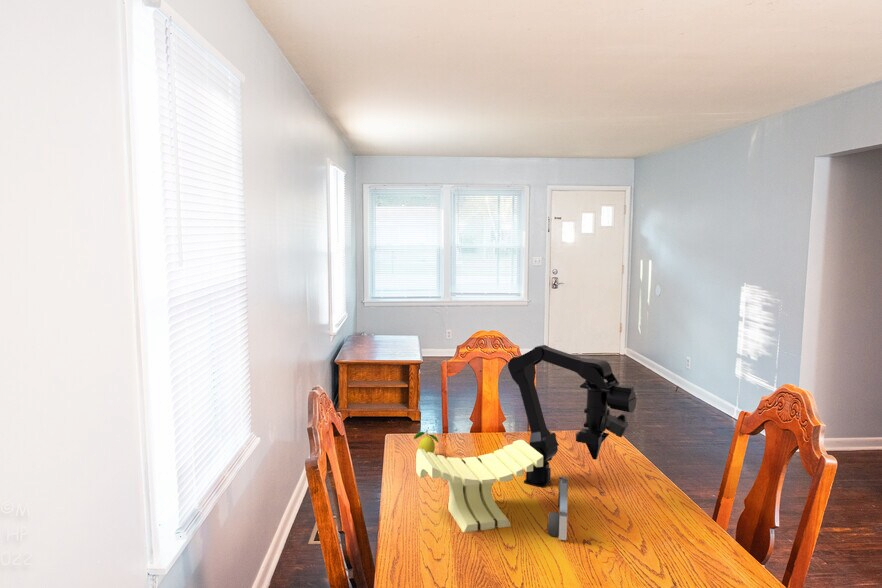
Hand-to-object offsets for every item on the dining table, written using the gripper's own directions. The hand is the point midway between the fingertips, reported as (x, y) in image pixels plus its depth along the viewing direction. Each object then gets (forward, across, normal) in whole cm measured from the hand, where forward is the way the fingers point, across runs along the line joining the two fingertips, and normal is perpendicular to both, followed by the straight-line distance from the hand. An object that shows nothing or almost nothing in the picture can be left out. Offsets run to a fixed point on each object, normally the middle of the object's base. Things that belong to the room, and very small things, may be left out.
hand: (594, 459), depth 161 cm
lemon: (+12, +1, +57) cm, 58 cm away
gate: (+12, -19, +3) cm, 22 cm away
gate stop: (+12, -25, +3) cm, 28 cm away
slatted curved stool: (+12, -26, +24) cm, 37 cm away
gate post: (+12, -9, +6) cm, 16 cm away
